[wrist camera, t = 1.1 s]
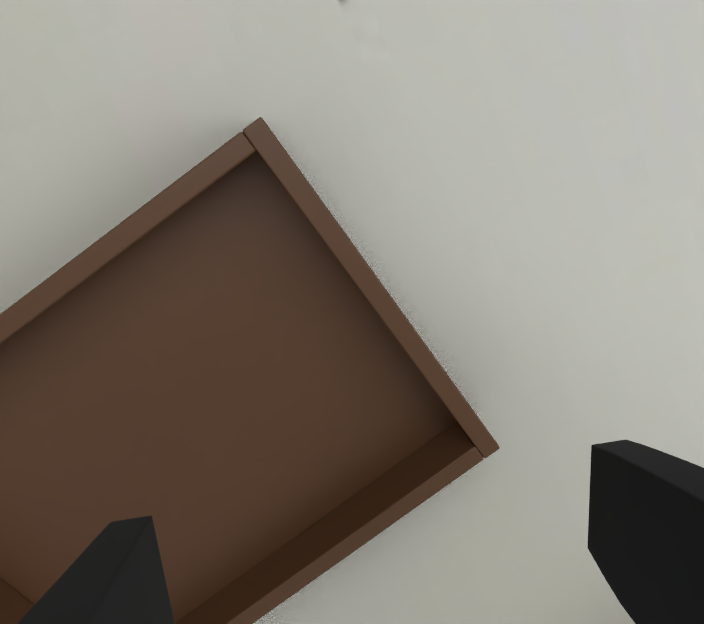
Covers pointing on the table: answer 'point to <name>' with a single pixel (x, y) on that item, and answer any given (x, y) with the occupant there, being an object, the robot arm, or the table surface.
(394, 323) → the tray
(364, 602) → the table surface
